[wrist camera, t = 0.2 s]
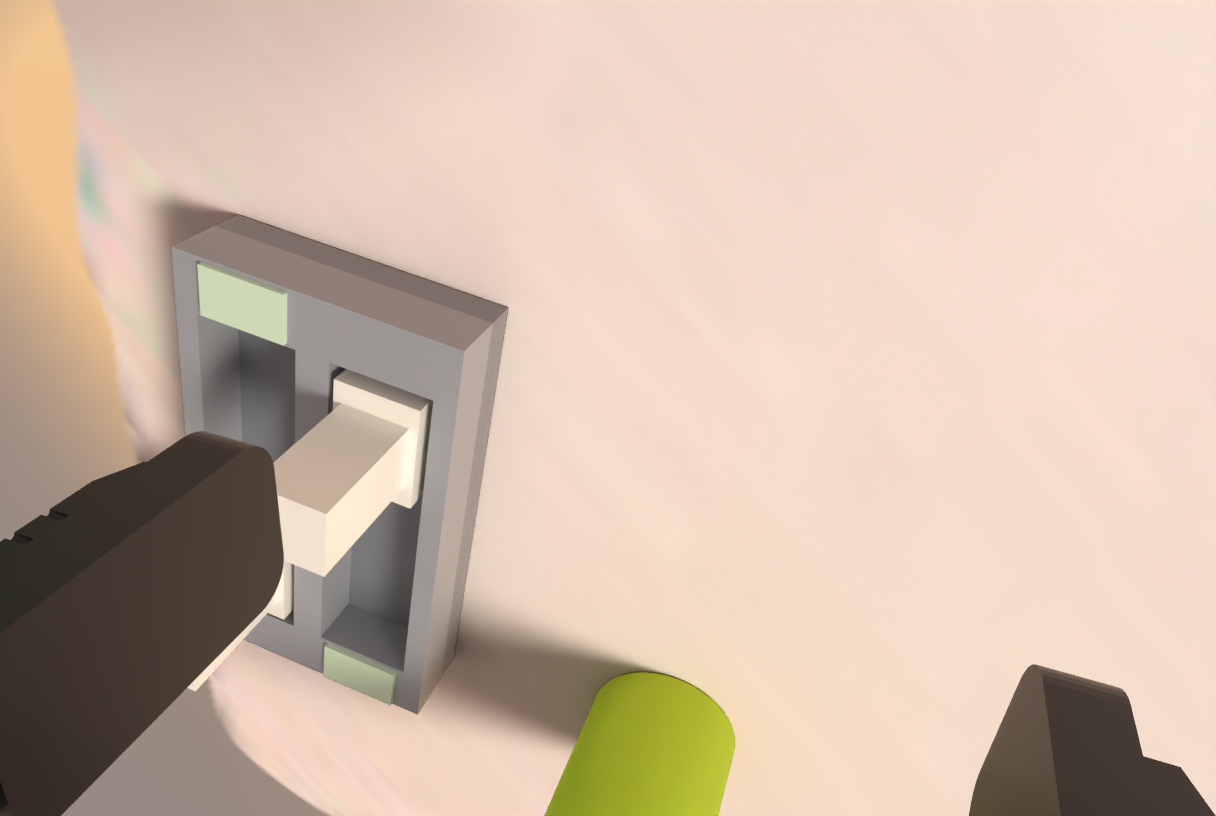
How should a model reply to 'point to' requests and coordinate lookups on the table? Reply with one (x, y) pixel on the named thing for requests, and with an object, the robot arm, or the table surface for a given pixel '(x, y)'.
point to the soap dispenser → (647, 752)
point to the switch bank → (303, 396)
